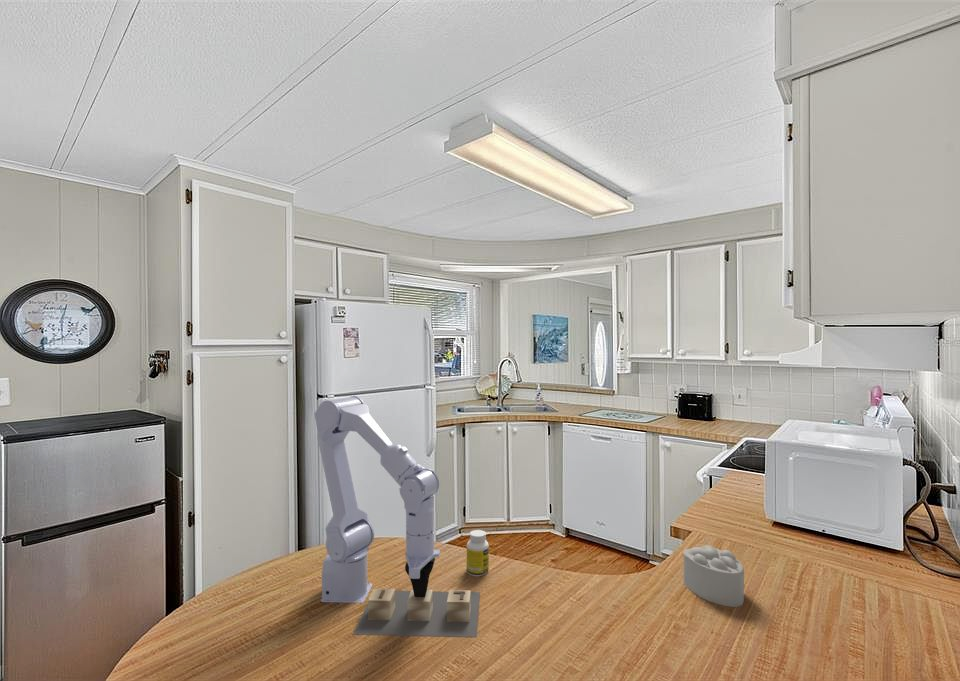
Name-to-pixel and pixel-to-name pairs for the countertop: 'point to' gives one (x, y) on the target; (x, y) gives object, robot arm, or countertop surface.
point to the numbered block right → (459, 606)
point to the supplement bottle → (477, 553)
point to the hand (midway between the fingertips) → (420, 596)
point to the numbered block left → (381, 604)
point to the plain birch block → (420, 606)
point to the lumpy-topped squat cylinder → (714, 575)
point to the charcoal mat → (421, 628)
